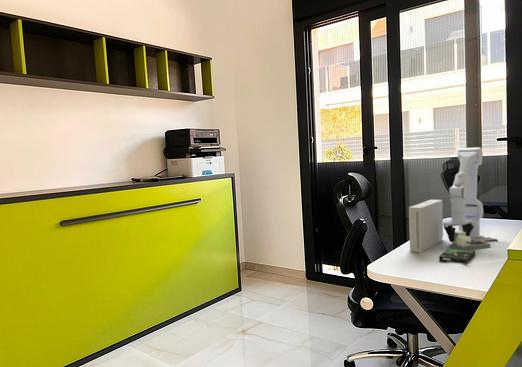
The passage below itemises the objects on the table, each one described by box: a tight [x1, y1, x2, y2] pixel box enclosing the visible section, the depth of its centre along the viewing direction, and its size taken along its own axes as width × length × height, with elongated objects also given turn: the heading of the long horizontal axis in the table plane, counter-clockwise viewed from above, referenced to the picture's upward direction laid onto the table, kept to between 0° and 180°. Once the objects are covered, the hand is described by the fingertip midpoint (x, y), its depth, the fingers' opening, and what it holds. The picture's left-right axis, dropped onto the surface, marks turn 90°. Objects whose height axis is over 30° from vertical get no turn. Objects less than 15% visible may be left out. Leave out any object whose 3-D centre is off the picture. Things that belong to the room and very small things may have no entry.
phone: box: [471, 236, 499, 243], centre depth 187 cm, size 6×11×1 cm, turn 102°
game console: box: [408, 199, 444, 254], centre depth 185 cm, size 6×27×20 cm, turn 137°
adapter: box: [457, 235, 473, 246], centre depth 174 cm, size 7×4×5 cm, turn 12°
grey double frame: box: [451, 240, 491, 251], centre depth 177 cm, size 7×14×2 cm, turn 102°
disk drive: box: [438, 247, 476, 266], centre depth 162 cm, size 10×3×15 cm
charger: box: [451, 230, 466, 244], centre depth 184 cm, size 4×4×6 cm
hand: (458, 241), depth 184 cm, fingers open, 7 cm apart
